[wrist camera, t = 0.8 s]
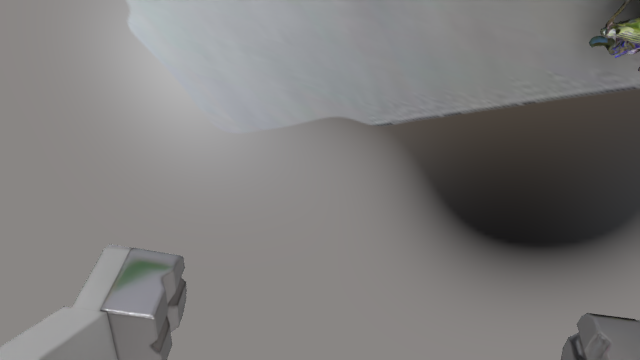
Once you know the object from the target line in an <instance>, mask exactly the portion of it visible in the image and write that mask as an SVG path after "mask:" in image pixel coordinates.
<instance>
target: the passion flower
mask: <svg viewBox="0 0 640 360" xmlns="http://www.w3.org/2000/svg"><path fill="white" fill-rule="evenodd" d="M630 1H631V0H626V1H625V3H624V4H623V5H622V6H621V8H620V9H619V10H618V11H617V12H616V13H615V14H614V15H613V16H612V17H611V18H610V20H609V21H608V22H607V24H606V27H605V28H603V29H601V31H600V32H601V35H602V36H596V37H593V38H592V39H591V40H590V42H589V44H590V46H591V47H592V48H593V47H594V46H604V47H606V48H607V50H608V51H609V54H611V55H614V54H615V53H616V54H615V55H616V56H615V58H616V57H619V56H621V55H624V54H635V53H637V52H639V51H640V17H639V18H637V19H633V20H627V21H623V22H619V23H614V19H615V17H616V16H617V15H618V14H620V13H621V11H623V10H624V8H625V6H626V5H627V4H628V3H629V2H630ZM638 71H639V72H640V67H639V69H638Z"/></svg>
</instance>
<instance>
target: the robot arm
mask: <svg viewBox="0 0 640 360" xmlns="http://www.w3.org/2000/svg"><path fill="white" fill-rule="evenodd" d="M184 268H185V266H184V258H183V256H180V255H173V254H168V253H161V252H156V251H150V250H144V249H138V248H131V247H125V246H118V245H112V244H109V245H108V246H107V247H106V248H105V249H104V250H103V251H102V253H101V255H100V257H99V258H98V260H97V262H96V264H95V265H94V267H93V269H92V271H91V273H90V275H89V276H88V278H87V280H86V282H85V283H84V286H83V287H82V289H81V291H80V292H79V294H78V296H77V298H76V300H75V302H74V303H73V305H72V307H69V306H63V307H62V308H60V309H59V310H57V311H56V312H54V313H52V314H51V315H49V316H48V317H46V318H45V319H43V320H42V321H40V322H38V323H37V324H35V325H34V326H32V327H30V328H29V329H27V330H26V331H24V332H23V333H21V334H20V335H18V336H16V337H15V338H13V339H12V340H10V341H9V342H7V343H5V344H4V345H2V346H1V347H0V360H167V358H168V355H169V352H170V349H171V347H172V339H171V332H172V331H173V330H175V329H176V328H178V327H179V325H180V321H181V319H182V316H183V312H184V307H185V302H186V291H187V290H186V282H185V281H184V280H183V279H182V278H181V277H182V274H183V271H184ZM577 327H578V330H579V333H577V334H575V335H573V336H570V337H568V339H567V341H566V343H565V345H564V347H563V351H562V356H561V360H640V320H635V319H629V318H621V317H613V316H606V315H598V314H591V313H586V314H585V315H583V316H582V317H581V318H580V320H579V321H578V323H577Z"/></svg>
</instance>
